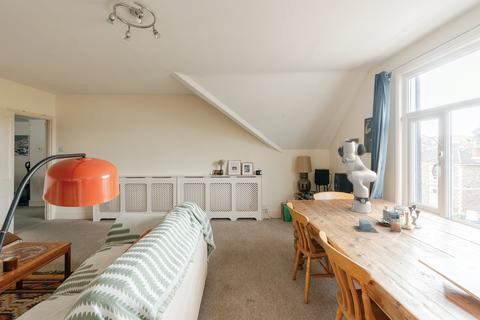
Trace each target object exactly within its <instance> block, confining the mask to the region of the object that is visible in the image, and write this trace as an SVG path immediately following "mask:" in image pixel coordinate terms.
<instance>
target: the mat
mask: <svg viewBox="0 0 480 320" xmlns="http://www.w3.org/2000/svg"><path fill="white" fill-rule="evenodd" d="M353 228H354V229H355V231H356V232H361V233H363V232H365V233H375V234H379V231H378V230H377V229H376V228H375V227H372V226H371V231H364V230H361V228H360V226H359V225H353Z"/></svg>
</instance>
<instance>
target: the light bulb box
mask: <svg viewBox="0 0 480 320" xmlns="http://www.w3.org/2000/svg"><path fill="white" fill-rule="evenodd" d="M383 220H385V221H387V222H389V223H390V224H391V221H395V222H399V223H401V221H400V220H401V213H400V212H399V211H397V210H394V209H392V208H383V209H382V221H383Z"/></svg>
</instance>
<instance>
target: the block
mask: <svg viewBox="0 0 480 320" xmlns="http://www.w3.org/2000/svg"><path fill="white" fill-rule="evenodd" d="M358 221H359V222H358V226H360V228H361V230H364V231H371V227H372V223H371V222H370V221H369V219H358Z"/></svg>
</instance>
